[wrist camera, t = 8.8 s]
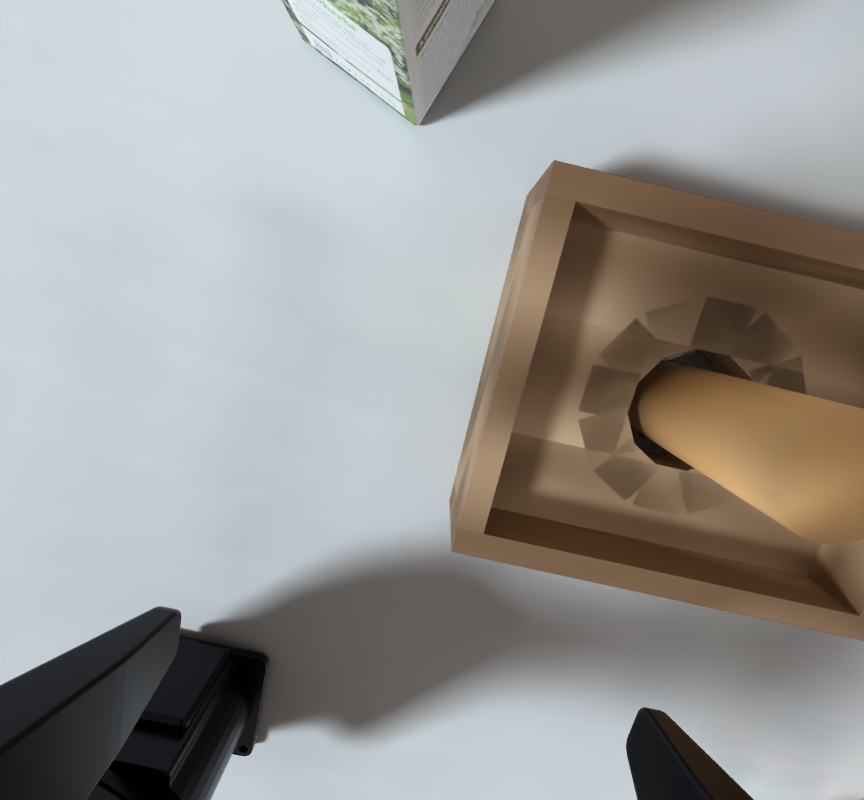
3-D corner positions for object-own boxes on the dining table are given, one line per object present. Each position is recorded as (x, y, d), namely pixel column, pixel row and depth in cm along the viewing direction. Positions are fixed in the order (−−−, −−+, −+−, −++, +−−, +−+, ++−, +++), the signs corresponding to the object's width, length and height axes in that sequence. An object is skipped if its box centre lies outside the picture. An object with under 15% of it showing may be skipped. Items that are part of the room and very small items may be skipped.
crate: (784, 573, 21) (873, 642, 17) (449, 499, 21) (451, 551, 17) (914, 288, 18) (1063, 283, 14) (526, 195, 18) (554, 160, 14)
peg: (689, 446, 20) (882, 557, 11) (615, 429, 20) (750, 528, 11) (717, 372, 19) (947, 428, 11) (639, 354, 19) (806, 395, 10)
